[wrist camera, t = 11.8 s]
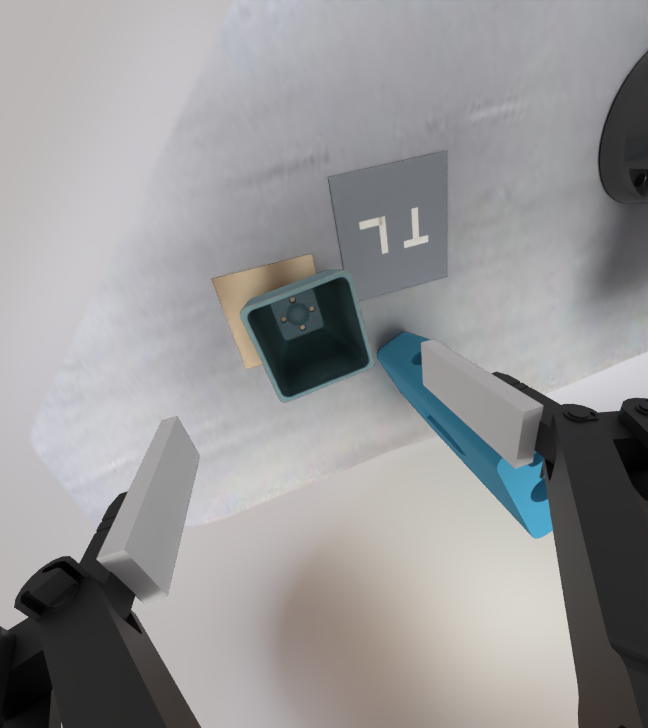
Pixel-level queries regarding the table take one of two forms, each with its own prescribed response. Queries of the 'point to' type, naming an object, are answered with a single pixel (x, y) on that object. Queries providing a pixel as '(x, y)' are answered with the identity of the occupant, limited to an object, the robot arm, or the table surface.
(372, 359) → the flower pot
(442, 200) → the tile
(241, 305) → the cork mat
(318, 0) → the table surface
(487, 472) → the block
